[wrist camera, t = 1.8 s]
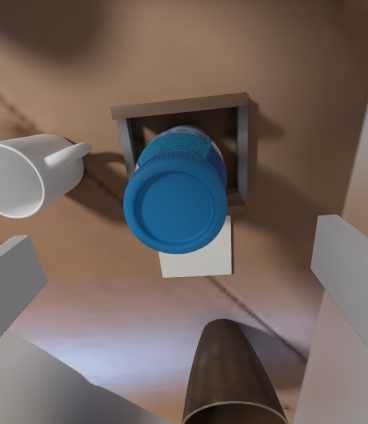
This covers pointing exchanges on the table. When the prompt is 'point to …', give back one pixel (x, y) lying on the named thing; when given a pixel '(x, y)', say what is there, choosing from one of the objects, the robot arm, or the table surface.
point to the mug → (38, 172)
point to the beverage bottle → (177, 191)
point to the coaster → (201, 258)
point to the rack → (187, 105)
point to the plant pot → (229, 381)
